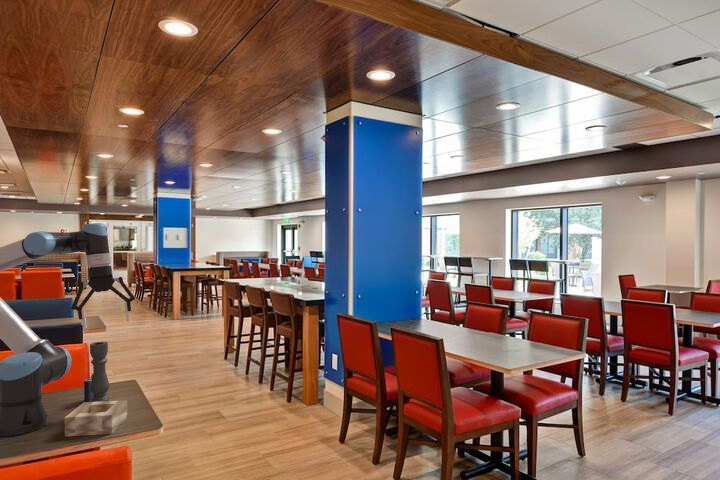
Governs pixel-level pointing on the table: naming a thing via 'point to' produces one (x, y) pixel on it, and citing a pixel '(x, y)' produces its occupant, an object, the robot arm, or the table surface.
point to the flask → (88, 390)
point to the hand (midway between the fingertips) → (106, 324)
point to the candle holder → (99, 371)
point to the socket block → (96, 418)
